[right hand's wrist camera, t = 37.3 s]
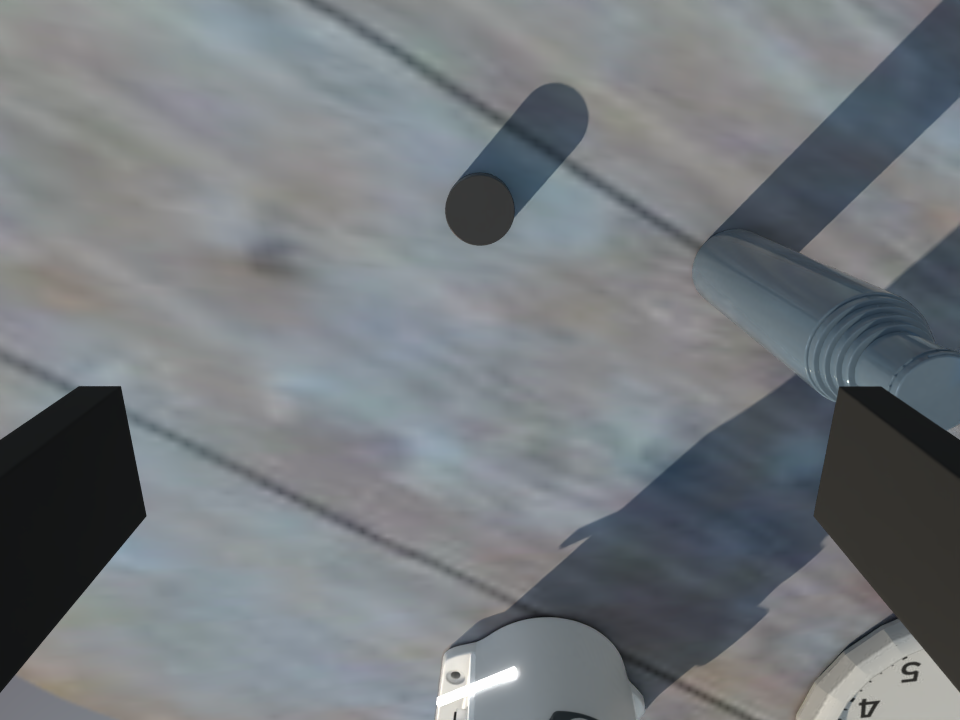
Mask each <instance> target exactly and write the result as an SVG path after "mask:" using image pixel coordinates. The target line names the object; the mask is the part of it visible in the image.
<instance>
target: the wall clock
mask: <svg viewBox="0 0 960 720" xmlns="http://www.w3.org/2000/svg"><path fill="white" fill-rule="evenodd" d="M796 720H960V692H959V691H958V690H957V689H956V688H955V686H954V685H953V684H952V683H951V682H950V680H949V679H948V678H947V677H946V675H945V674H944V673H943V672H942V671H941V669H940V668H939V667H938V666H937V665H936V663H935V662H934V661H933V660H932V659H931V657H930V656H929V655H928V654H927V653H926V651H925V650H924V649H923V648H922V646H921V645H920V644H919V643H918V642H917V640H916V639H915V638H914V637H913V636H912V634H911V633H910V632H909V631H908V630H907V628H906V627H905V626H904V625H903V624H902V622H901V621H900V620H899V619H896V620H894V621H892V622H889V623H887V624H885V625H882V626H880V627H879V628H877V629H876V630H874V631H873V632H871V633H870V634H868V635H867V636H865V637H864V638H863V639H861V640H860V641H858V642H857V643H855V644H854V645H852V646H851V647H849V648H848V649H846V650H845V651H843V652H842V653H841V654H840V655H839V657H838V658H837V659H836V660H835V661H834V662H833V663H832V664H831V665H830V666H829V667H828V668H827V669H826V670H825V671H824V672H823V673H822V674H821V675H820V677H819V678H818V679H817V680H816V681H815V682H814V684H813V685H812V687H811V689H810V691H809V693H808V695H807V696H806V698H805V700H804V702H803V704H802V705H801V707H800V709H799V711H798V713H797V715H796Z"/></svg>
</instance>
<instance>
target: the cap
mask: <svg viewBox="0 0 960 720" xmlns="http://www.w3.org/2000/svg"><path fill="white" fill-rule="evenodd" d="M514 212H515V208H514V202H513V199H512V196H511V193H510V191H509V189H508V188H507V186H506V185H505V184H504V183H503V182H502V181H501V180H500V179H499V178H497V177H495V176H493V175H491V174H487V173H473V174H469V175H467V176H465V177H463V178H461V179H460V180H459V181H458V182H457V183H456V184H455V185H454V186H453V187H452V189H451V191H450V193H449V196H448V198H447V202H446V207H445V214H446V219H447V223H448V225H449V227H450V229H451V230H452V232H453V233H454V234H455V235H456V236H457V237H458V238H459V239H461V240H462V241H464V242H466V243H468V244H472V245H481V246H482V245H488V244H492V243H494V242H496V241H498V240H499V239H501V238H502V237H503V236H504V235H505V234H506V233H507V232H508V230H509V229H510V227H511V225H512V222H513V219H514Z"/></svg>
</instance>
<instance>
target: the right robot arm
mask: <svg viewBox="0 0 960 720" xmlns="http://www.w3.org/2000/svg"><path fill="white" fill-rule="evenodd" d="M145 517H146V511H145V506H144V501H143V496H142V491H141V486H140V481H139V476H138V471H137V466H136V461H135V455H134V450H133V445H132V440H131V435H130V430H129V425H128V420H127V415H126V410H125V405H124V400H123V395H122V390H121V386H79V387H77V388H76V389H74V390H73V391H71V392H70V393H68V394H67V395H66V396H64V397H63V398H61V399H60V400H58V401H57V402H55V403H54V404H52V405H51V406H49V407H48V408H46V409H45V410H43V411H42V412H41V413H39V414H38V415H36V416H35V417H33V418H32V419H30V420H29V421H27V422H26V423H24V424H23V425H21V426H20V427H19V428H17V429H16V430H14V431H13V432H11V433H10V434H8V435H7V436H5V437H4V438H2V439H1V440H0V692H1V691H2V690H3V689H4V688H5V686H6V685H7V684H8V683H9V682H10V680H11V679H12V678H13V677H14V675H15V674H16V673H17V672H18V671H19V669H20V668H21V667H22V666H23V665H24V663H25V662H26V661H27V660H28V659H29V657H30V656H31V655H32V654H33V653H34V651H35V650H36V649H37V648H38V646H39V645H40V644H41V643H42V642H43V640H44V639H45V638H46V637H47V636H48V634H49V633H50V632H51V631H52V630H53V628H54V627H55V626H56V625H57V624H58V622H59V621H60V620H61V619H62V617H63V616H64V615H65V614H66V613H67V611H68V610H69V609H70V608H71V607H72V605H73V604H74V603H75V602H76V601H77V599H78V598H79V597H80V596H81V595H82V593H83V592H84V591H85V590H86V589H87V587H88V586H89V585H90V584H91V582H92V581H93V580H94V579H95V578H96V576H97V575H98V574H99V573H100V572H101V570H102V569H103V568H104V567H105V566H106V564H107V563H108V562H109V561H110V560H111V558H112V557H113V556H114V555H115V553H116V552H117V551H118V550H119V549H120V547H121V546H122V545H123V544H124V543H125V541H126V540H127V539H128V538H129V537H130V535H131V534H132V533H133V532H134V531H135V529H136V528H137V527H138V526H139V524H140V523H141V522H142V521H143V520H144V518H145ZM814 517H815V518H816V520H817V521H818V522H819V523H820V524H821V526H822V527H823V528H824V529H825V531H826V532H827V533H828V534H829V535H830V537H831V538H832V539H833V540H834V541H835V543H836V544H837V545H838V546H839V547H840V549H841V550H842V551H843V552H844V553H845V555H846V556H847V557H848V558H849V560H850V561H851V562H852V563H853V564H854V566H855V567H856V568H857V569H858V570H859V572H860V573H861V574H862V575H863V576H864V578H865V579H866V580H867V581H868V582H869V584H870V585H871V586H872V587H873V589H874V590H875V591H876V592H877V593H878V595H879V596H880V597H881V598H882V599H883V601H884V602H885V603H886V604H887V605H888V607H889V608H890V609H891V610H892V611H893V613H894V614H895V615H896V616H897V617H898V619H899V620H900V621H901V622H902V624H903V625H904V626H905V627H906V628H907V630H908V631H909V632H910V633H911V634H912V636H913V637H914V638H915V639H916V640H917V642H918V643H919V644H920V645H921V646H922V648H923V649H924V650H925V651H926V653H927V654H928V655H929V656H930V657H931V659H932V660H933V661H934V662H935V663H936V665H937V666H938V667H939V668H940V669H941V671H942V672H943V673H944V674H945V675H946V677H947V678H948V679H949V680H950V682H951V683H952V684H953V685H954V686H955V688H956V689H957V690H958V691H959V692H960V440H959V439H958V438H956V437H955V436H953V435H952V434H950V433H949V432H947V431H946V430H944V429H943V428H941V427H940V426H939V425H937V424H936V423H934V422H933V421H931V420H930V419H928V418H927V417H925V416H924V415H922V414H921V413H919V412H918V411H917V410H915V409H914V408H912V407H911V406H909V405H908V404H906V403H905V402H903V401H902V400H900V399H899V398H897V397H896V396H894V395H893V394H892V393H890V392H889V391H887V390H886V389H884V388H883V387H881V386H839V390H838V395H837V400H836V405H835V410H834V415H833V420H832V425H831V430H830V435H829V440H828V445H827V450H826V455H825V461H824V466H823V471H822V476H821V481H820V486H819V491H818V496H817V501H816V506H815V511H814Z"/></svg>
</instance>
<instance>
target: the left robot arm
mask: <svg viewBox="0 0 960 720" xmlns="http://www.w3.org/2000/svg"><path fill="white" fill-rule="evenodd" d="M455 671H456V672H457V673H455ZM644 713H645V703H644V698H643V696H642V694H641V693H640V692H639V691H638V689H637V688H636V687H635V686H634V685H633V684H632V683H631V682H630V681H629V679H628V677H627V674H626V670H625V666H624V663H623V660H622V658H621V655H620V654H619V652H618V650H617V649H616V647H615V646H614V645H613V644H612V642H611V641H610V640H609V639H608V638H606V637H605V636H604V635H603V634H601V633H600V632H598V631H597V630H595V629H593V628H592V627H590V626H587V625H585V624H583V623H580V622H577V621H573V620H569V619H564V618H555V617H540V618H531V619H525V620H521V621H518V622H514V623H512V624H509V625H507V626H504V627H502V628H500V629H498V630H497V631H495V632H493V633H492V634H490V635H489V636H487V637H486V638H484V639H482V640H480V641H478V642H474V643H469V644H465V645H460V646H457V647H454V648H451V649H449V650H448V651H446V653H445V654H444V656H443V662H442V670H441V678H440V686H439V694H438V698H437V710H436V718H435V720H639V719H640V718H641V717H642V716H643V714H644Z"/></svg>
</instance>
